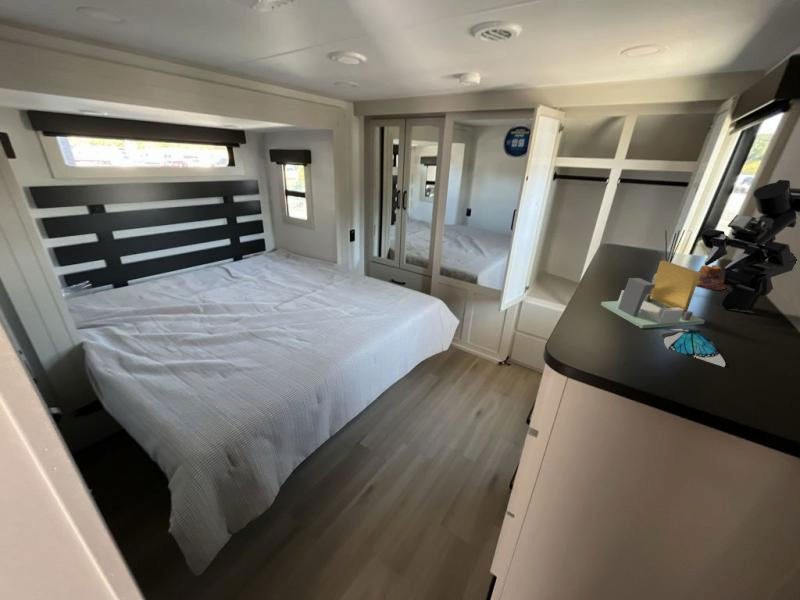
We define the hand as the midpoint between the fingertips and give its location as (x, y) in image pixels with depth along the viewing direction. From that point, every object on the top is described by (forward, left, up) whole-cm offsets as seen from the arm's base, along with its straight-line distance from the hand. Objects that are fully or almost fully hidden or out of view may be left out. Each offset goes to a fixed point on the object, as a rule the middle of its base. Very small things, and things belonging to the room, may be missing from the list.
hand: (714, 267), depth 87 cm
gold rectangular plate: (+8, +6, -11) cm, 16 cm away
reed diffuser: (+6, -18, -14) cm, 24 cm away
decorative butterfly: (+8, +27, -14) cm, 32 cm away
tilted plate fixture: (+12, +9, -14) cm, 21 cm away
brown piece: (-11, -31, -14) cm, 36 cm away
